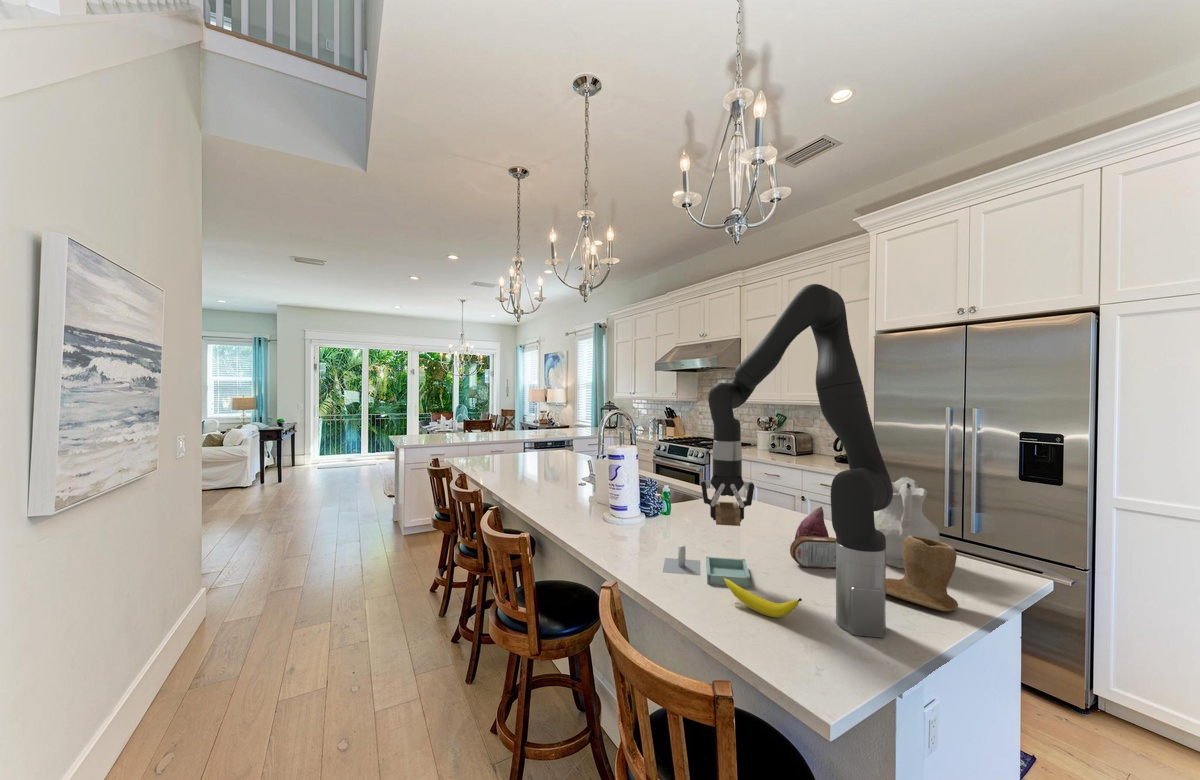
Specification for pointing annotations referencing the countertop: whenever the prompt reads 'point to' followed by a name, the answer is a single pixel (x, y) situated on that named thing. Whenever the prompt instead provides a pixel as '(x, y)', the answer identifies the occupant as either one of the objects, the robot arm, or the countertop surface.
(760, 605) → the banana
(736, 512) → the stepped wooden block
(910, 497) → the ceramic pitcher
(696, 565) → the grey plate with post
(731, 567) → the tray
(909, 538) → the brown felt boot
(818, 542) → the tin
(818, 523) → the vegetable
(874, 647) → the countertop surface
